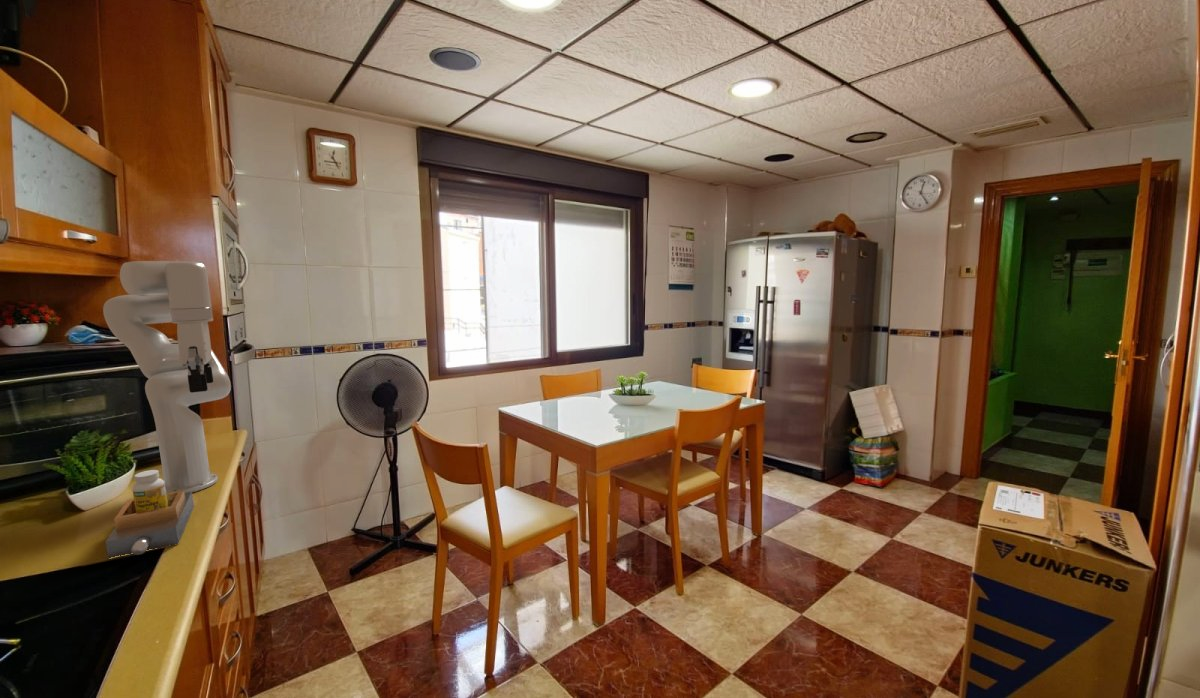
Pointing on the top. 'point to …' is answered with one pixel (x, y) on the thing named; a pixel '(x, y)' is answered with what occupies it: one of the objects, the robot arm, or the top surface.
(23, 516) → the top surface
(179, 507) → the gray brown rimmed box
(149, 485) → the supplement bottle
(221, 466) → the top surface
